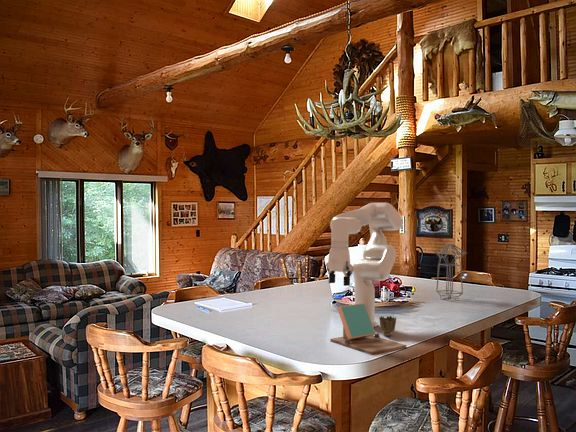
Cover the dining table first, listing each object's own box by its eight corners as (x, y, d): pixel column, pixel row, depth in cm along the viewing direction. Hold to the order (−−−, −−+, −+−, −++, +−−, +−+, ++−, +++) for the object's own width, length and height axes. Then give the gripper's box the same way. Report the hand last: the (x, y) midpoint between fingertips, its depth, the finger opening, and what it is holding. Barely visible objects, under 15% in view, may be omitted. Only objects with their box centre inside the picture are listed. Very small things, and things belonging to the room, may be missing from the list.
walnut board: (330, 341, 220) (330, 324, 220) (363, 335, 231) (363, 319, 231) (372, 354, 199) (372, 336, 199) (406, 347, 210) (406, 330, 210)
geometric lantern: (431, 298, 328) (432, 243, 328) (450, 297, 334) (451, 243, 335) (448, 302, 313) (449, 244, 314) (468, 301, 320) (469, 244, 320)
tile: (337, 308, 220) (340, 306, 218) (361, 304, 228) (364, 302, 226) (348, 340, 214) (351, 338, 213) (372, 335, 222) (376, 333, 221)
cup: (394, 333, 234) (394, 315, 234) (398, 337, 227) (398, 319, 227) (377, 333, 234) (377, 315, 234) (381, 337, 227) (381, 319, 226)
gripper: (320, 244, 235) (320, 282, 235) (346, 246, 221) (346, 287, 221) (333, 244, 239) (332, 281, 239) (359, 246, 225) (359, 285, 225)
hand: (339, 284), depth 230 cm, fingers open, 9 cm apart
